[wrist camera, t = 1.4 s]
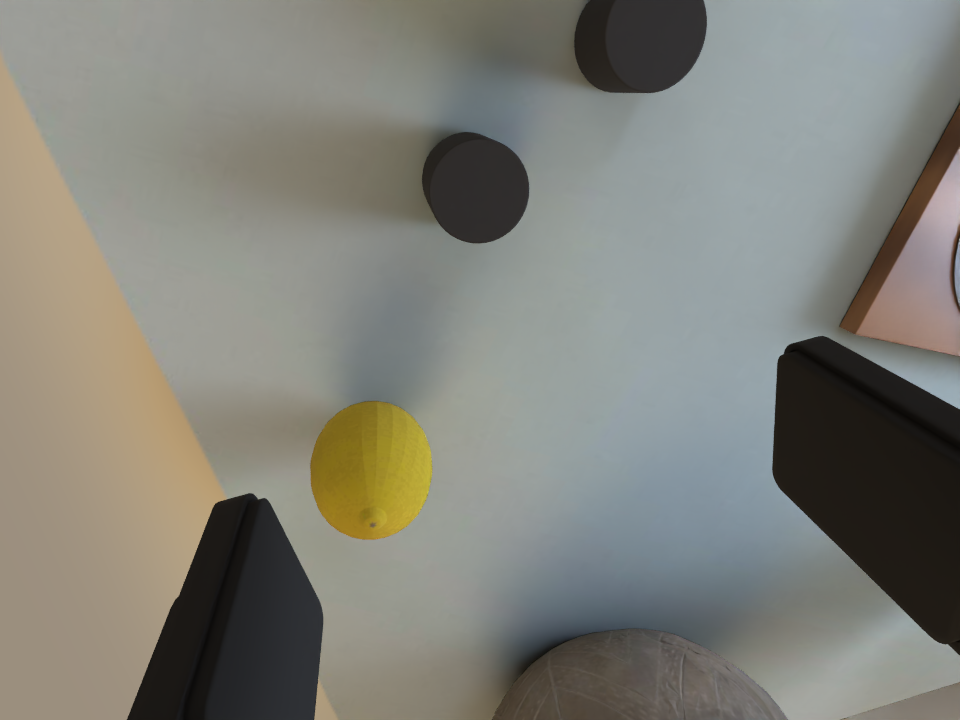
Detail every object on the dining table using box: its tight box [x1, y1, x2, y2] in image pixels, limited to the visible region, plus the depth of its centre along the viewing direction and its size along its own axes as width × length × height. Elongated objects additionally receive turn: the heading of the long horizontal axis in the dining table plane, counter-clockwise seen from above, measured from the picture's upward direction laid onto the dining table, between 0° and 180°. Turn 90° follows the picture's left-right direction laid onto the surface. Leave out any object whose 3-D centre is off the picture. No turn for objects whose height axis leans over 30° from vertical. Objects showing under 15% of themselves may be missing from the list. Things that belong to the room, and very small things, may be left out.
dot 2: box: [574, 0, 707, 93], centre depth 22 cm, size 4×4×4 cm
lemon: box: [310, 401, 432, 540], centre depth 26 cm, size 6×6×8 cm
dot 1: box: [422, 132, 529, 243], centre depth 23 cm, size 4×4×4 cm
